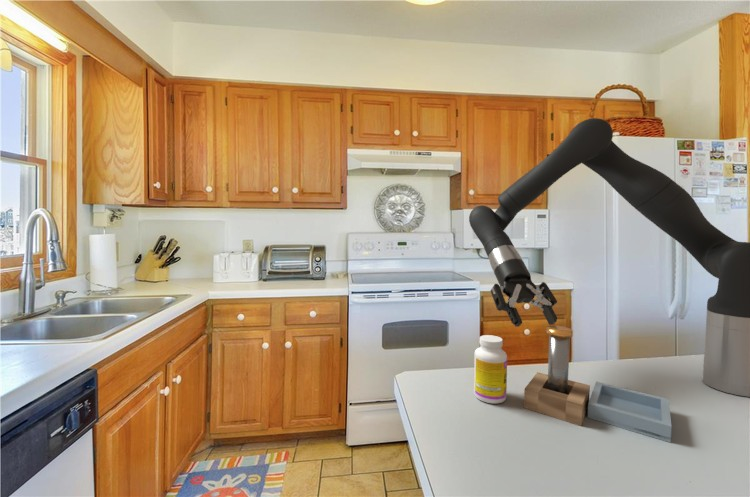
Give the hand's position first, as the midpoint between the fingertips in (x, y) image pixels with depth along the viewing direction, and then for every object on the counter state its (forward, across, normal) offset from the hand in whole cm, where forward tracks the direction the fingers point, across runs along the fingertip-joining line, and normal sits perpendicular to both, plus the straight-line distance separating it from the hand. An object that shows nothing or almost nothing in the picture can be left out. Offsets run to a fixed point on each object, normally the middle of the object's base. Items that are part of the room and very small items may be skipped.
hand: (536, 324), depth 75 cm
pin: (+16, 0, +6) cm, 17 cm away
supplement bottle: (+12, -12, +10) cm, 19 cm away
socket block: (+16, 0, +6) cm, 17 cm away
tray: (+20, +11, +2) cm, 23 cm away
